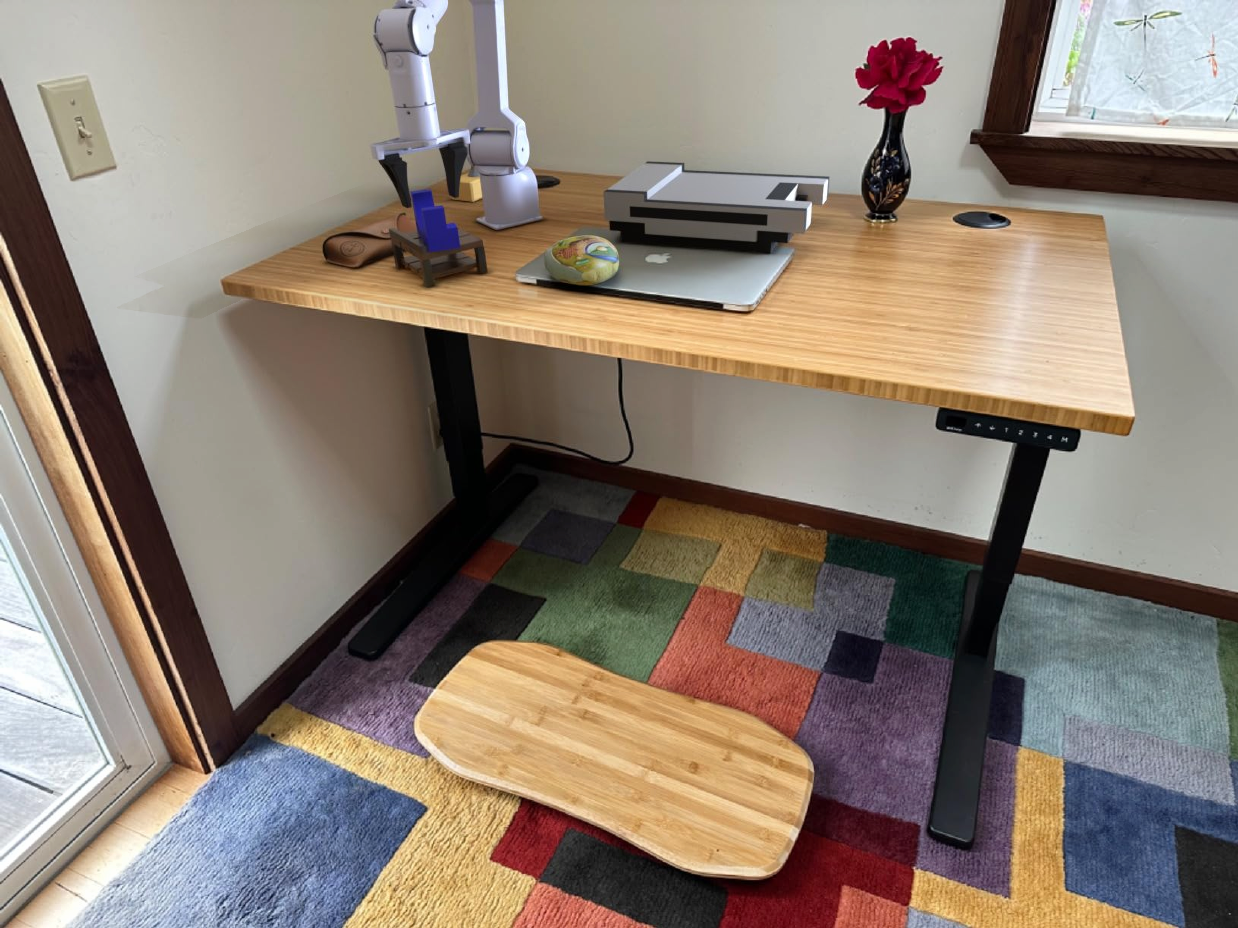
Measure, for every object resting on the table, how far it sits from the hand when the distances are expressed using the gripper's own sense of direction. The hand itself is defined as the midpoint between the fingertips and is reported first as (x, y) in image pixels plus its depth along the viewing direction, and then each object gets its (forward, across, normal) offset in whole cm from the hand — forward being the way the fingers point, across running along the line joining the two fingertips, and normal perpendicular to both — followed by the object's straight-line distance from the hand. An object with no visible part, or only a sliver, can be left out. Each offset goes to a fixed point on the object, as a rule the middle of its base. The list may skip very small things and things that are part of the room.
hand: (430, 201), depth 129 cm
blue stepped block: (+6, 0, -1) cm, 6 cm away
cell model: (+10, +14, -19) cm, 26 cm away
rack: (+10, 0, -1) cm, 10 cm away
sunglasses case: (+10, -4, +15) cm, 19 cm away
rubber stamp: (+11, +25, +36) cm, 45 cm away
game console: (+11, +44, -15) cm, 47 cm away
